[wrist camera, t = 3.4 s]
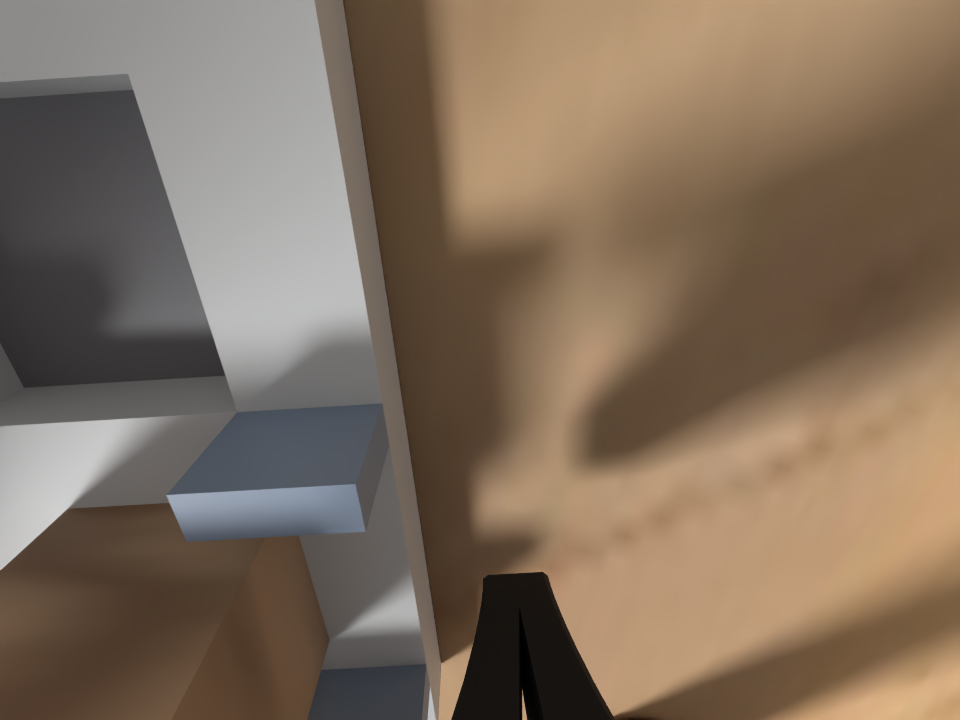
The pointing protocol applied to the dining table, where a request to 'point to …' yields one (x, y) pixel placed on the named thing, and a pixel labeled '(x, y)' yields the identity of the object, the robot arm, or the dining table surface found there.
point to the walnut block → (156, 623)
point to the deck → (210, 308)
